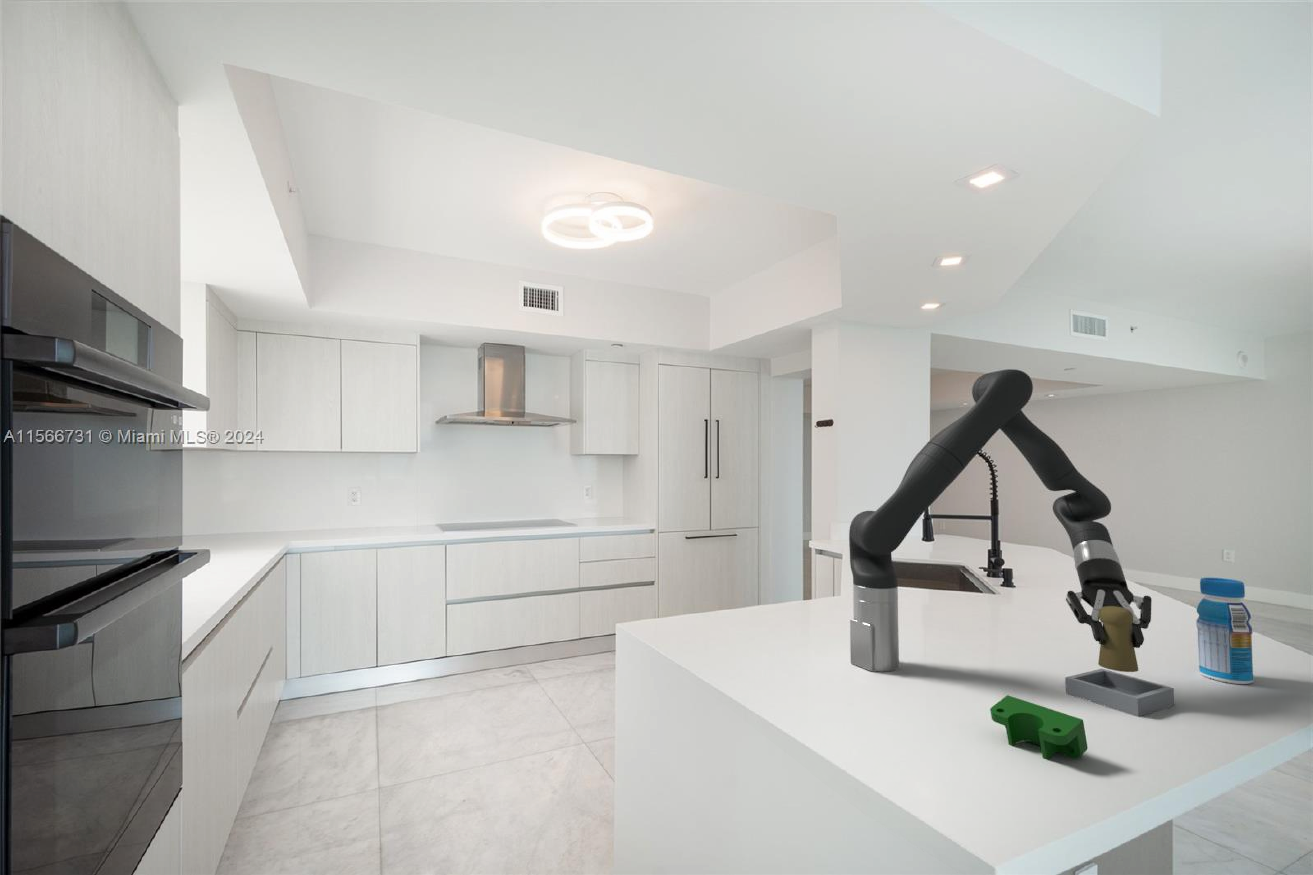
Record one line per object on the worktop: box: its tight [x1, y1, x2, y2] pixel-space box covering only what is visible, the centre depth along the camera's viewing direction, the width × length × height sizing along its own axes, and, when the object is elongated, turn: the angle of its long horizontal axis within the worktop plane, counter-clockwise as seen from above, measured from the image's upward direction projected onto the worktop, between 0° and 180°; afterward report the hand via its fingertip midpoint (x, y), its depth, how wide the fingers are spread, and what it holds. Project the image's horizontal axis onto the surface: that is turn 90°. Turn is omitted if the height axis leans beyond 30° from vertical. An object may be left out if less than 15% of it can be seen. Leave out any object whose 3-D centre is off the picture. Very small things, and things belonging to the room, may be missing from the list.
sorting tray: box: [1064, 668, 1176, 717], centre depth 113 cm, size 12×12×3 cm
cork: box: [1097, 606, 1139, 673], centre depth 114 cm, size 6×6×11 cm
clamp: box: [989, 694, 1089, 761], centre depth 93 cm, size 12×6×9 cm, turn 24°
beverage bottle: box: [1195, 577, 1255, 685], centre depth 125 cm, size 8×8×20 cm
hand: (1120, 643), depth 112 cm, fingers closed on cork, 4 cm apart
